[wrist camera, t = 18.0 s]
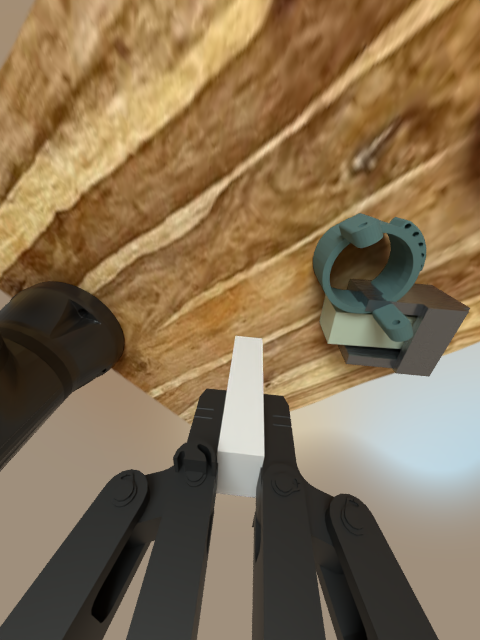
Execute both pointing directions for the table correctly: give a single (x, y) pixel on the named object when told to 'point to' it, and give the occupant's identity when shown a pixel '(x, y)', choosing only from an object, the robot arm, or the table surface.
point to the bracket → (393, 278)
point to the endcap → (428, 330)
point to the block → (355, 328)
